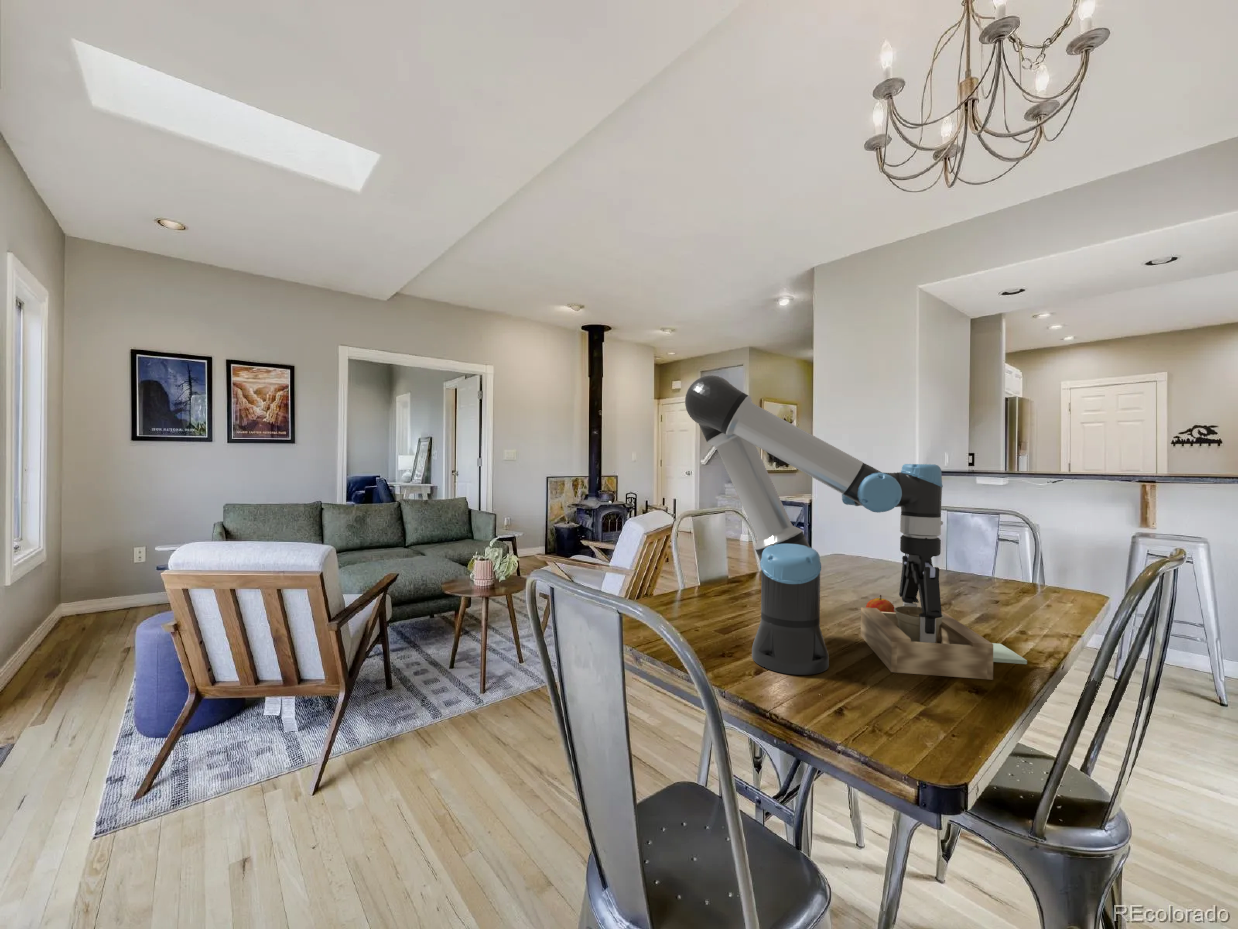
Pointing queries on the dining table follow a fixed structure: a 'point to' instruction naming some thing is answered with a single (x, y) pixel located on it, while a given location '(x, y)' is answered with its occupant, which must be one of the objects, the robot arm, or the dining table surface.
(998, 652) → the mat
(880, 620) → the crate
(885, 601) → the fruit
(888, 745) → the dining table surface
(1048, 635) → the dining table surface
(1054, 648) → the dining table surface
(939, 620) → the flower pot
